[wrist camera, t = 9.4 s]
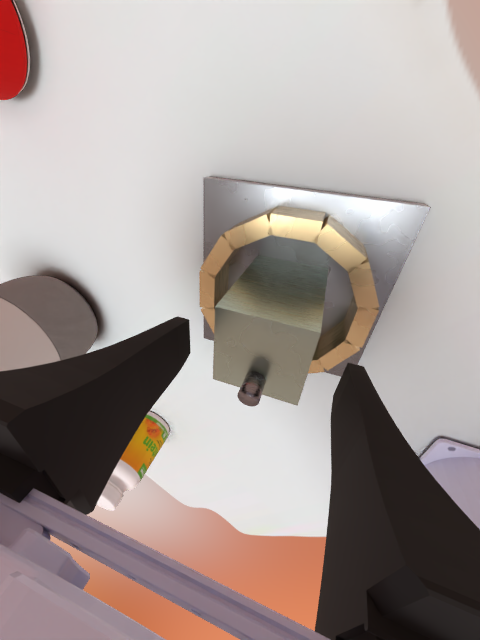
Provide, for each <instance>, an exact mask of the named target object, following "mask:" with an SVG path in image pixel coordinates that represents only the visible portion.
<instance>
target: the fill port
mask: <svg viewBox="0 0 480 640" xmlns="http://www.w3.org/2000/svg"><path fill="white" fill-rule="evenodd" d="M430 208H431V207H430V206H428V205H426V204H422V203H414V202H406V201H398V200H390V199H383V198H375V197H367V196H359V195H351V194H343V193H335V192H328V191H320V190H312V189H304V188H296V187H288V186H281V185H273V184H265V183H257V182H249V181H241V180H234V179H226V178H218V177H205V178H204V263H203V265H202V267H201V269H202V270H201V271H200V307H203V308H202V309H201V311H202V313H203V315H204V338H206V339H209V340H213V341H214V326H215V306H216V305H217V304H218V302H219V301H220V300H221V299H222V298H223V296H224V295H225V294H226V293H227V292H228V290H229V289H230V288H231V287H232V286H233V284H234V283H235V282H236V281H237V280H238V278H239V277H240V276H241V275H242V274H243V273H244V271H245V270H246V269H247V268H248V267H249V265H250V264H251V263H252V262H253V261H254V259H255V258H256V257H257V256H258V255H261V256H266V257H271V258H276V259H282V260H287V261H292V262H297V263H302V264H308V265H313V266H318V267H323V268H328V275H327V284H326V293H325V301H324V310H323V319H322V327H321V334H320V337H319V340H318V343H317V346H316V349H315V353H314V356H313V359H312V362H311V365H310V368H309V371H308V373H317V372H327V373H330V374H334V375H337V376H341V377H342V375H343V372H344V370H345V368H346V365H347V363H352V364H355V365H357V364H358V362H359V360H360V358H361V355H362V353H363V351H364V349H365V347H366V345H367V343H368V340H369V338H370V336H371V334H372V332H373V330H374V328H375V325H376V323H377V321H378V319H379V317H380V315H381V313H382V310H383V308H384V306H385V304H386V302H387V300H388V298H389V295H390V293H391V291H392V289H393V287H394V285H395V283H396V280H397V278H398V276H399V274H400V272H401V270H402V268H403V265H404V263H405V261H406V259H407V257H408V255H409V253H410V250H411V248H412V246H413V244H414V242H415V240H416V238H417V235H418V233H419V231H420V229H421V227H422V225H423V223H424V220H425V218H426V216H427V214H428V212H429V210H430Z"/></svg>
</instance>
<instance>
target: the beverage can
mask: <svg viewBox="0 0 480 640" xmlns="http://www.w3.org/2000/svg"><path fill="white" fill-rule="evenodd" d="M29 71H30V52H29V45H28V39H27V35H26V31H25V27H24V24H23V21H22V18H21V15H20V13H19V10H18V8H17V6H16V3H15V1H14V0H0V100H8V99H11V98H13V97H15V96H16V95H17V94H19V93H20V92H21V91H22V90H23V89H24V87H25V85H26V83H27V80H28V77H29Z"/></svg>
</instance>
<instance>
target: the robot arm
mask: <svg viewBox="0 0 480 640" xmlns="http://www.w3.org/2000/svg"><path fill="white" fill-rule="evenodd" d="M189 354H190V331H189V320H188V319H185V318H181V317H175V318H173V319H171V320H168V321H166V322H164V323H162V324H160V325H158V326H155V327H153V328H151V329H149V330H147V331H145V332H142V333H140V334H138V335H136V336H133V337H131V338H128V339H126V340H124V341H121V342H119V343H116V344H114V345H111V346H108V347H105V348H103V349H99V350H96V351H93V352H90V353H87V354H83V355H80V356H76V357H72V358H68V359H64V360H61V361H56V362H52V363H47V364H42V365H37V366H32V367H26V368H20V369H14V370H7V371H0V640H165V639H164V638H162V637H160V636H159V635H157V634H155V633H154V632H152V631H151V630H149V629H147V628H146V627H144V626H142V625H141V624H139V623H138V622H136V621H134V620H133V619H131V618H129V617H127V616H126V615H124V614H122V613H121V612H119V611H117V610H116V609H114V608H112V607H111V606H109V605H107V604H106V603H104V602H102V601H101V600H99V599H97V598H95V597H93V596H92V595H90V594H88V593H87V592H85V591H83V589H84V587H85V585H86V584H87V582H88V580H89V579H90V574H89V573H88V572H87V571H85V570H84V569H83V568H82V567H81V566H79V564H77V563H76V561H74V560H73V558H72V557H71V555H70V554H69V553H68V552H66V551H65V550H63V549H62V548H61V547H59V546H57V545H56V544H54V543H53V542H51V541H50V535H52V536H54V537H56V538H58V539H59V540H61V541H63V542H65V543H67V544H69V545H70V546H72V547H74V548H76V549H77V550H79V551H81V552H83V553H85V554H87V555H88V556H90V557H92V558H94V559H96V560H97V561H99V562H101V563H103V564H105V565H106V566H108V567H110V568H112V569H114V570H115V571H117V572H119V573H121V574H123V575H125V576H127V577H128V578H130V579H132V580H134V581H135V582H137V583H139V584H141V585H143V586H144V587H146V588H148V589H150V590H152V591H153V592H155V593H157V594H159V595H161V596H163V597H164V598H166V599H168V600H170V601H172V602H173V603H175V604H177V605H179V606H181V607H182V608H184V609H186V610H188V611H190V612H192V613H194V614H195V615H197V616H199V617H201V618H202V619H204V620H206V621H208V622H210V623H212V624H213V625H215V626H217V627H219V628H221V629H223V630H224V631H226V632H228V633H230V634H231V635H233V636H235V637H237V638H239V639H241V640H480V449H477V448H473V447H470V446H467V445H463V444H460V443H457V442H454V441H450V440H447V439H438V440H436V441H435V442H434V443H433V444H432V445H431V447H430V448H429V449H428V450H427V451H426V452H425V453H424V454H423V455H422V456H421V457H420V458H418V456H417V455H416V454H415V452H414V451H413V450H412V448H411V447H410V445H409V444H408V443H407V441H406V440H405V438H404V437H403V435H402V434H401V432H400V431H399V429H398V427H397V426H396V424H395V423H394V421H393V419H392V418H391V416H390V414H389V413H388V411H387V409H386V408H385V406H384V404H383V402H382V401H381V399H380V397H379V395H378V393H377V391H376V390H375V388H374V386H373V384H372V382H371V380H370V378H369V376H368V374H367V372H366V370H365V368H364V367H363V366H359V365H355V364H352V363H347V365H346V368H345V370H344V372H343V375H342V377H341V379H340V382H339V384H338V386H337V388H336V391H335V393H334V395H333V403H332V412H331V464H332V476H331V494H330V506H329V517H328V527H327V537H326V546H325V555H324V565H323V573H322V581H321V589H320V597H319V604H318V612H317V620H316V626H315V631H313V630H311V629H308V628H307V627H305V626H302V625H301V624H299V623H297V622H295V621H293V620H291V619H289V618H287V617H285V616H283V615H281V614H279V613H277V612H275V611H273V610H271V609H269V608H268V607H266V606H264V605H262V604H260V603H258V602H256V601H254V600H252V599H250V598H248V597H246V596H244V595H242V594H240V593H238V592H236V591H234V590H232V589H230V588H228V587H226V586H224V585H222V584H220V583H218V582H217V581H215V580H212V579H211V578H209V577H206V576H204V575H203V574H201V573H199V572H197V571H195V570H193V569H191V568H189V567H187V566H185V565H183V564H181V563H179V562H177V561H175V560H173V559H171V558H169V557H167V556H166V555H164V554H161V553H160V552H158V551H156V550H154V549H152V548H150V547H148V546H146V545H144V544H142V543H140V542H138V541H136V540H134V539H132V538H130V537H128V536H126V535H124V534H122V533H120V532H118V531H116V530H115V529H112V528H111V527H109V526H107V525H104V524H103V523H101V522H99V521H97V520H95V519H93V518H91V517H89V516H87V514H89V513H90V512H92V511H93V510H94V508H95V506H96V504H97V502H98V500H99V498H100V496H101V494H102V492H103V490H104V488H105V486H106V484H107V482H108V480H109V478H110V476H111V475H112V473H113V471H114V469H115V467H116V466H117V464H118V462H119V460H120V458H121V457H122V455H123V453H124V451H125V449H126V448H127V446H128V444H129V443H130V441H131V439H132V438H133V436H134V434H135V432H136V431H137V429H138V428H139V426H140V424H141V423H142V421H143V420H144V418H145V416H146V415H147V413H148V412H149V411H150V409H151V408H152V406H153V405H154V404H155V402H156V401H157V400H158V399H159V397H160V396H161V395H162V393H163V392H164V391H165V390H166V388H167V387H168V386H169V384H170V383H171V382H172V380H173V379H174V378H175V377H176V375H177V374H178V373H179V371H180V370H181V368H182V366H183V365H184V363H185V361H186V360H187V358H188V356H189Z"/></svg>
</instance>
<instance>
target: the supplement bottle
mask: <svg viewBox="0 0 480 640" xmlns="http://www.w3.org/2000/svg"><path fill="white" fill-rule="evenodd" d="M168 435H169V427H168V425H167V424H166V422H165V421H164V420H163V419H162V418H160V417H159V416H158V415H156V414H154V413H153V412H150V411H149V412H148V413H147V415H146V416H145V418H144V420H143V421H142V423H141V424H140V426H139V428H138V429H137V431H136V432H135V434H134V436H133V438H132V439H131V441H130V443H129V444H128V446H127V448H126V449H125V451H124V453H123V455H122V457H121V458H120V460H119V462H118V464H117V466H116V467H115V469H114V471H113V473H112V475H111V476H110V478H109V480H108V482H107V484H106V486H105V488H104V490H103V492H102V494H101V496H100V498H99V500H98V502H97V505H98V506H100V507H102V508H104V509H107V510H111V511H113V510H115V509H116V507H117V506H118V504H119V503H120V501H121V500H122V497H123V492H124V491H127V490H128V491H129V490H132V489H134V488H135V487H136V486H137V485H138V484H139V482H140V481H141V479H142V478H143V476H144V474H145V473H146V471H147V469H148V468H149V466H150V464H151V463H152V461H153V460H154V458H155V456H156V455H157V453H158V452H159V450H160V448H161V447H162V445H163V444H164V442H165V440H166V439H167V437H168Z"/></svg>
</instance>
